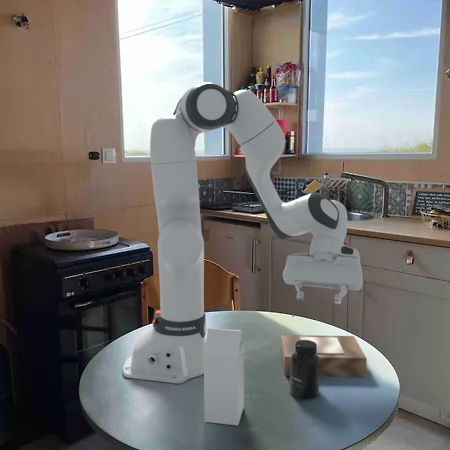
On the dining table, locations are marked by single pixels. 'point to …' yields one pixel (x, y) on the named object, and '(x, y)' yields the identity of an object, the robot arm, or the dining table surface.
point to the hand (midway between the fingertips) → (318, 300)
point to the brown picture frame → (329, 355)
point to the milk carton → (223, 376)
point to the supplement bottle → (305, 370)
